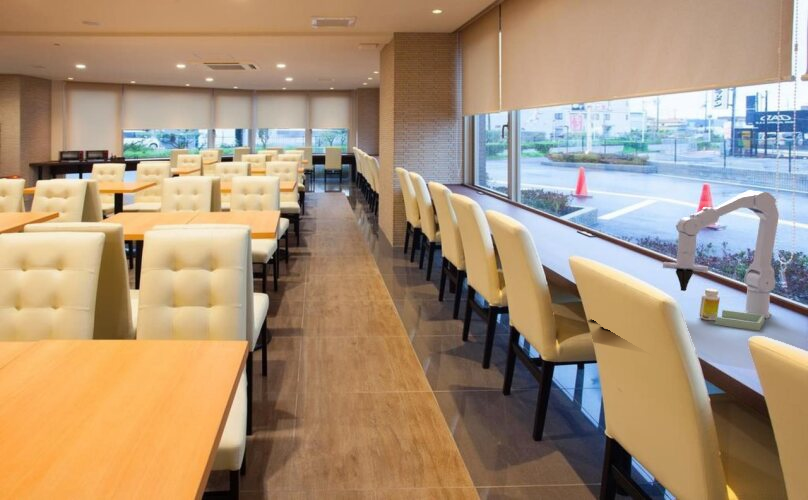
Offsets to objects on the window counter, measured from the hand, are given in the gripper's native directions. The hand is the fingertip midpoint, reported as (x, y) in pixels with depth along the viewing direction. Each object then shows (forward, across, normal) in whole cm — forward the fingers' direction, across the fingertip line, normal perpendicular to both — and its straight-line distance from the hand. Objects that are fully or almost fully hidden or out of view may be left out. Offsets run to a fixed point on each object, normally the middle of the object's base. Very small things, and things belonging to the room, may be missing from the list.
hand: (683, 290), depth 229 cm
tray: (+9, +19, 0) cm, 21 cm away
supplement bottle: (+9, +8, 0) cm, 12 cm away
